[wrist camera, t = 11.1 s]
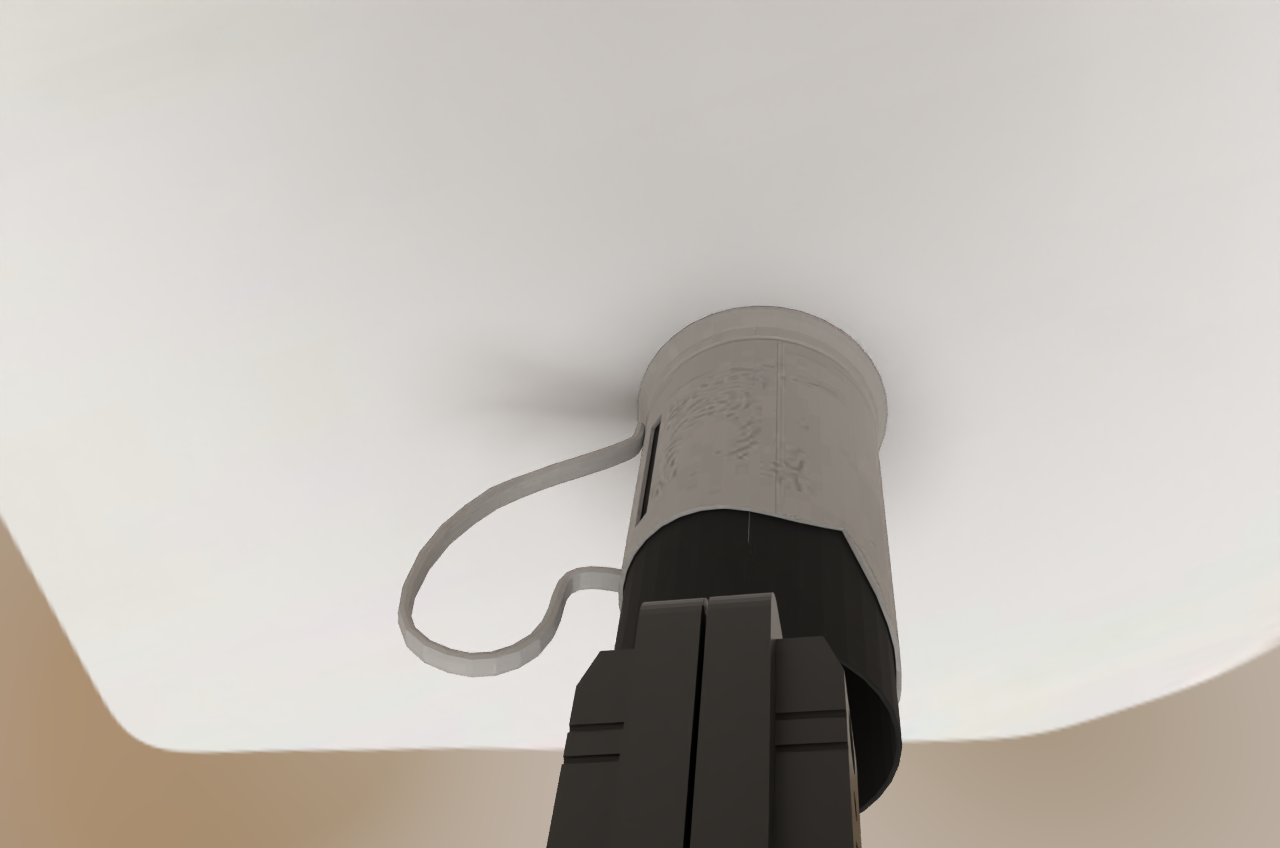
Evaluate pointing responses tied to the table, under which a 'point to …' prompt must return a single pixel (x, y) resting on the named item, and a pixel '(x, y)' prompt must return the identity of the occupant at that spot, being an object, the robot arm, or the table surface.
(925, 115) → the table surface
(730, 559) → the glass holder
